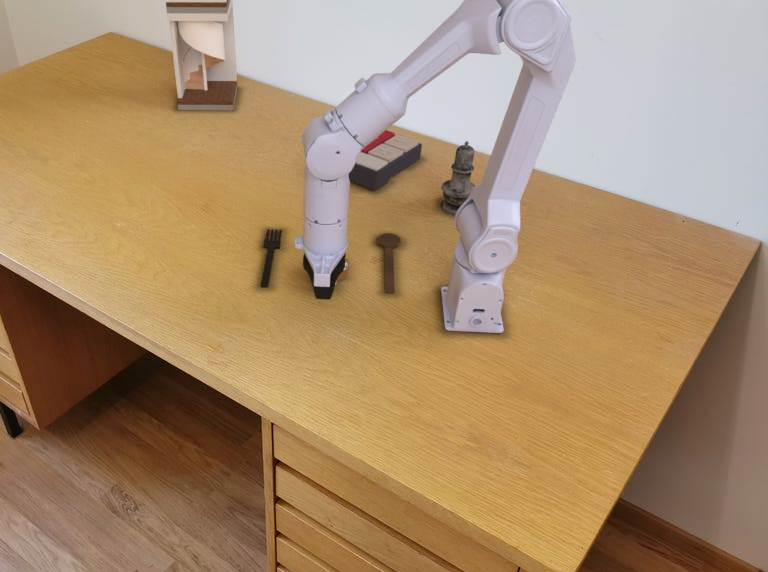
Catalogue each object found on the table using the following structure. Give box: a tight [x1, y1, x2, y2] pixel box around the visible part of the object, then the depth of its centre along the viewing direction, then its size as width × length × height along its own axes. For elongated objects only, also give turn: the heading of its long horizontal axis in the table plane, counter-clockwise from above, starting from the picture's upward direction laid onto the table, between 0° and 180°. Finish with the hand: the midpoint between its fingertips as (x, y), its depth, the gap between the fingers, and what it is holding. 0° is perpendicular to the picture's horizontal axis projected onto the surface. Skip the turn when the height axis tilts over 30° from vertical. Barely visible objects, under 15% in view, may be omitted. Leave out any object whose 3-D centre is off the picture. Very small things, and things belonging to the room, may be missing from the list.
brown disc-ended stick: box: [377, 232, 401, 294], centre depth 115 cm, size 15×4×1 cm, turn 175°
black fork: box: [260, 228, 283, 289], centre depth 116 cm, size 15×3×1 cm, turn 175°
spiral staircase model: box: [165, 0, 239, 111], centre depth 146 cm, size 11×11×35 cm
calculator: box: [349, 129, 423, 191], centre depth 135 cm, size 11×4×15 cm
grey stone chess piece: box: [440, 140, 476, 216], centre depth 122 cm, size 6×6×12 cm
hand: (323, 296), depth 104 cm, fingers closed
